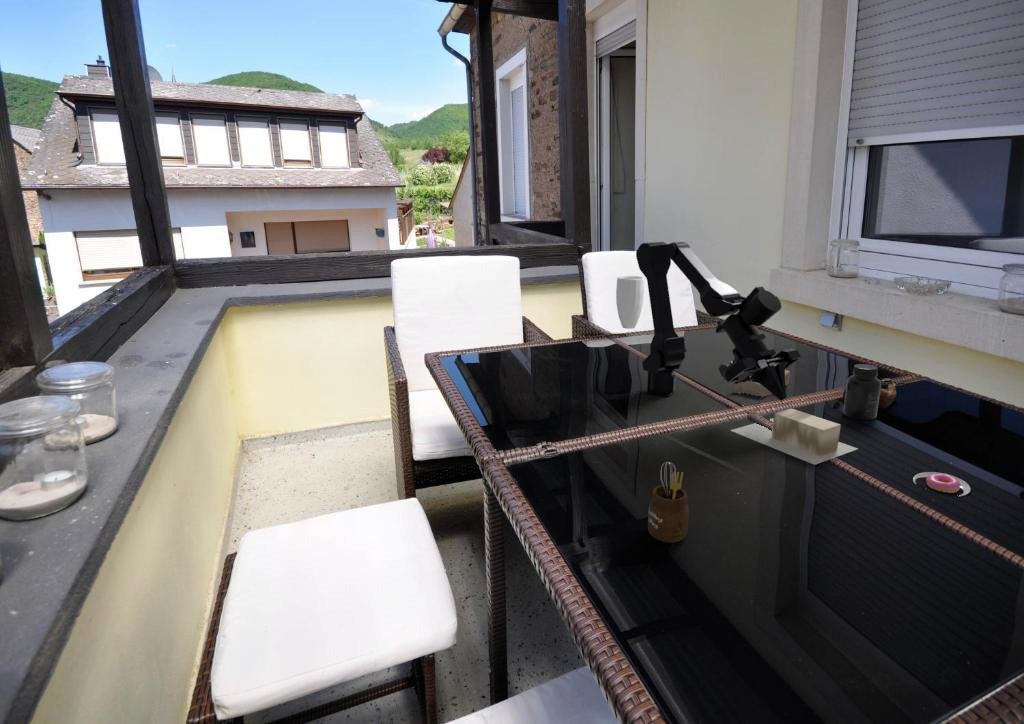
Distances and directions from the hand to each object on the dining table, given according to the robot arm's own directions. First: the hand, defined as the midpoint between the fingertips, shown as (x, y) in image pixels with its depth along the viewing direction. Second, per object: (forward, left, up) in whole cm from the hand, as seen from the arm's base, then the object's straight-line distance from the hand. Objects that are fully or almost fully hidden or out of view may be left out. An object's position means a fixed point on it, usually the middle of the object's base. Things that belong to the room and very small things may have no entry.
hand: (783, 399), depth 123 cm
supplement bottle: (+15, +22, -9) cm, 28 cm away
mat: (+2, -1, -9) cm, 9 cm away
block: (0, 0, -5) cm, 5 cm away
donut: (+27, -9, -9) cm, 30 cm away
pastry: (+18, +36, -9) cm, 41 cm away
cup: (-59, +80, -9) cm, 100 cm away
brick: (-7, +33, -9) cm, 35 cm away
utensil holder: (-12, -48, -9) cm, 50 cm away
